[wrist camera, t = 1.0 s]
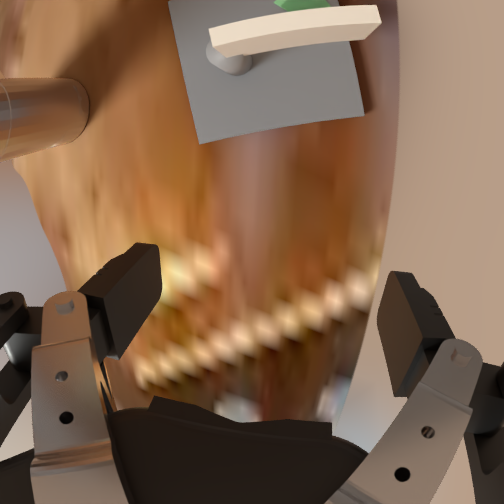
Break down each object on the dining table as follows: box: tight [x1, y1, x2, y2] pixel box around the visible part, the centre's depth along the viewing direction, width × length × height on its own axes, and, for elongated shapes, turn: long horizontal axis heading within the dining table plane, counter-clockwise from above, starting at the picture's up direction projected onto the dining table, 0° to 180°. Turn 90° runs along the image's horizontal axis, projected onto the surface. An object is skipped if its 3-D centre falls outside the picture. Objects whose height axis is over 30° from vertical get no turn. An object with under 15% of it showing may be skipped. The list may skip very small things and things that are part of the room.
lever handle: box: [206, 5, 381, 76], centre depth 23 cm, size 14×3×12 cm, turn 102°
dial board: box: [168, 0, 365, 144], centre depth 29 cm, size 18×18×2 cm
